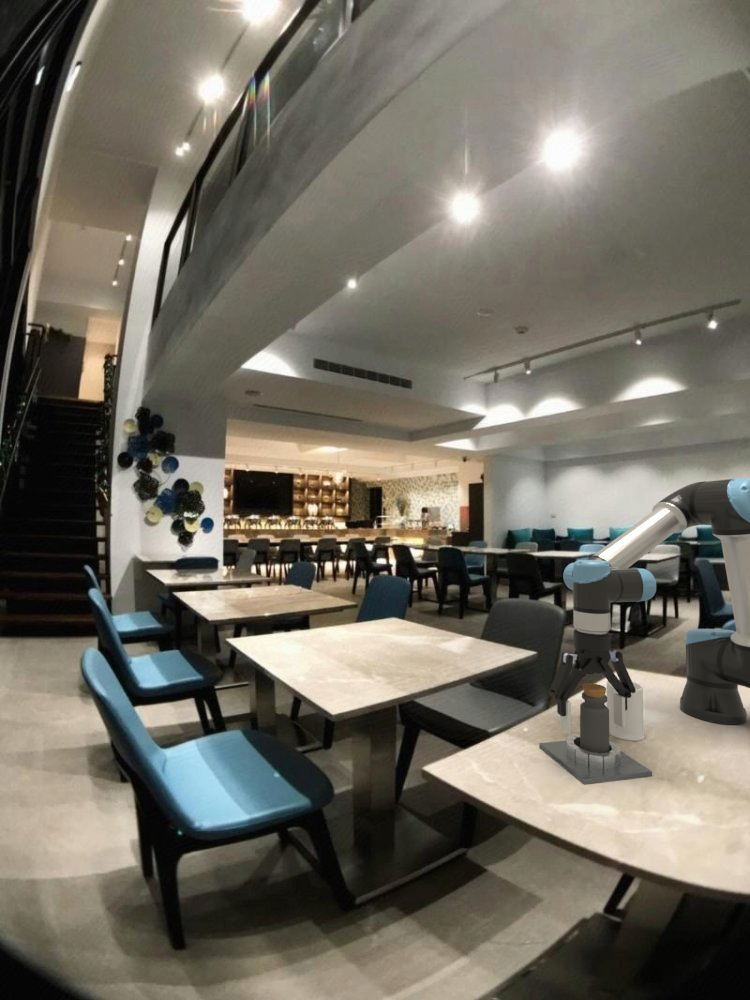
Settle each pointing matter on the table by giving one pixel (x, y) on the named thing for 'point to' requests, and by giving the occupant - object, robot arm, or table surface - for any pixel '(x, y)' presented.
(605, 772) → the collar plate
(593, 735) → the bottle
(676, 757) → the table surface
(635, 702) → the mug
